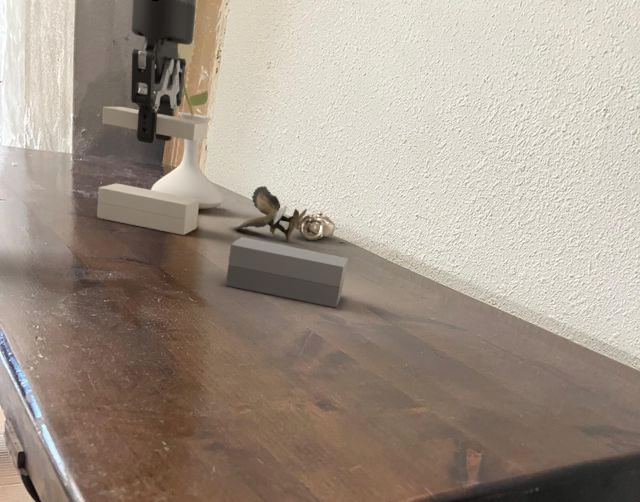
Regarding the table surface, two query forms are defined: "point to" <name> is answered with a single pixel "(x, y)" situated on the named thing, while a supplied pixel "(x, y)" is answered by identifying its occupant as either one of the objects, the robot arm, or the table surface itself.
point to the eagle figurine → (271, 213)
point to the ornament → (315, 226)
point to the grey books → (286, 271)
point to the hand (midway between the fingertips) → (154, 140)
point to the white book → (163, 126)
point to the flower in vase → (190, 155)
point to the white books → (147, 208)
